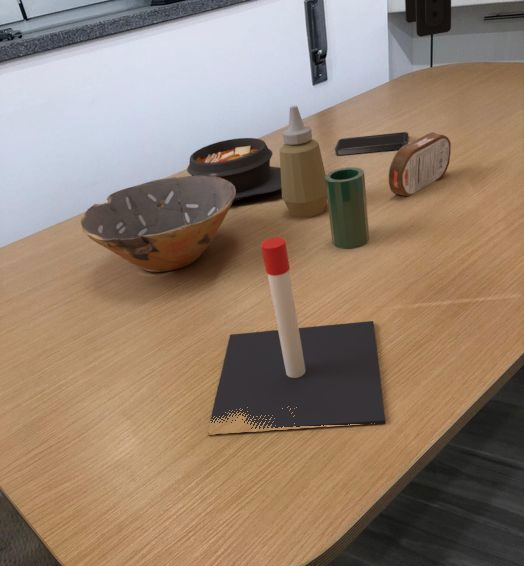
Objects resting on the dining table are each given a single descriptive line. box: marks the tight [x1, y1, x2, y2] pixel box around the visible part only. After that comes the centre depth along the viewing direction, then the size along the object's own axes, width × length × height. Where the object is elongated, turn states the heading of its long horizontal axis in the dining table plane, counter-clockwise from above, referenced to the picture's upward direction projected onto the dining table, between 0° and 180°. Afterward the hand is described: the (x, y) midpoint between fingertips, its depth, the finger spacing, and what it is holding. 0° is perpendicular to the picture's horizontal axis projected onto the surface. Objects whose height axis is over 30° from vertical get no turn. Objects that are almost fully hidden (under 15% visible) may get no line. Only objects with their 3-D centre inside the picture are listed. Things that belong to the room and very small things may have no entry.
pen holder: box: [325, 167, 370, 250], centre depth 89 cm, size 6×6×11 cm
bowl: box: [79, 175, 236, 273], centre depth 96 cm, size 25×25×10 cm
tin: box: [388, 132, 452, 197], centre depth 103 cm, size 15×3×8 cm, turn 133°
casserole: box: [186, 137, 282, 202], centre depth 118 cm, size 25×19×8 cm
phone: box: [334, 131, 410, 156], centre depth 128 cm, size 8×1×15 cm
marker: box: [260, 236, 306, 378], centre depth 63 cm, size 2×2×16 cm
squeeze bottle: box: [279, 105, 328, 219], centre depth 100 cm, size 8×8×18 cm
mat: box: [209, 320, 386, 429], centre depth 68 cm, size 18×18×1 cm
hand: (426, 26), depth 62 cm, fingers open, 9 cm apart
